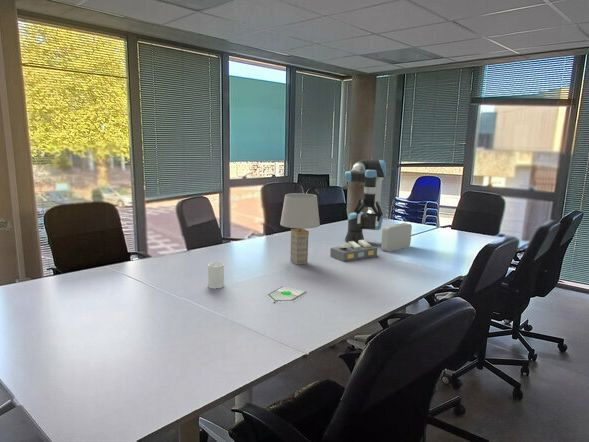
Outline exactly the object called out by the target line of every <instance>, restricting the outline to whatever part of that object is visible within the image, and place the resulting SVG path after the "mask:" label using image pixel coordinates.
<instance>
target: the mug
mask: <svg viewBox="0 0 589 442" xmlns="http://www.w3.org/2000/svg"><path fill="white" fill-rule="evenodd" d="M224 267H225V265H224V263H223V262H219V261H217V262H215V261H214V262H213V261H212V262H209V263H208V264H207V275H208V276H207V277H208V278H207V279H208V280H207V282H208V283H207V287H208V288H209V289H212V288H213V289H214V290H217V289H216V288H219V289H222V287H223V288H224V287H225V280H224V279H225V278H224V277H225V268H224Z"/></svg>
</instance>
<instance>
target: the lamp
mask: <svg viewBox="0 0 589 442" xmlns="http://www.w3.org/2000/svg"><path fill="white" fill-rule="evenodd" d="M319 214H320V213H319V205H318V197H317V195H316V194H312V193H300V192H299V193H297V192H296V193H295V192H294V193H286V194H285V195H284V200H283V207H282V211H281V217H280V224H279V225H280V226H282V227H284V228H290V256H289V257H290V258H289V259H290V260H289V261H290V262H291V263H293V264H295V265H305V264H308V260H309V259H308V258H309V233H310V231H309V230H307V229H315V228H318V227H320V226H321V225H320V224H321V223H320V222H321V221H320V215H319Z"/></svg>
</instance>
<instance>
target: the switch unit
mask: <svg viewBox="0 0 589 442" xmlns="http://www.w3.org/2000/svg"><path fill="white" fill-rule="evenodd" d="M357 244H358V245H360V246H361V247H360V249H355V248H353V247H352V246H351V245H350V246H351V247H347V248H338V246H336V247H330V255H329V257H330V258H333V259H336V260H338V261H341V262H344V263H345V262H350V261H355V260H361V259H367V258H372V257H377V256H378V247H376V246H373V245H372V244H370V247H366V248H365V247H364V246H362V245H361V244H360V243H357Z"/></svg>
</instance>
